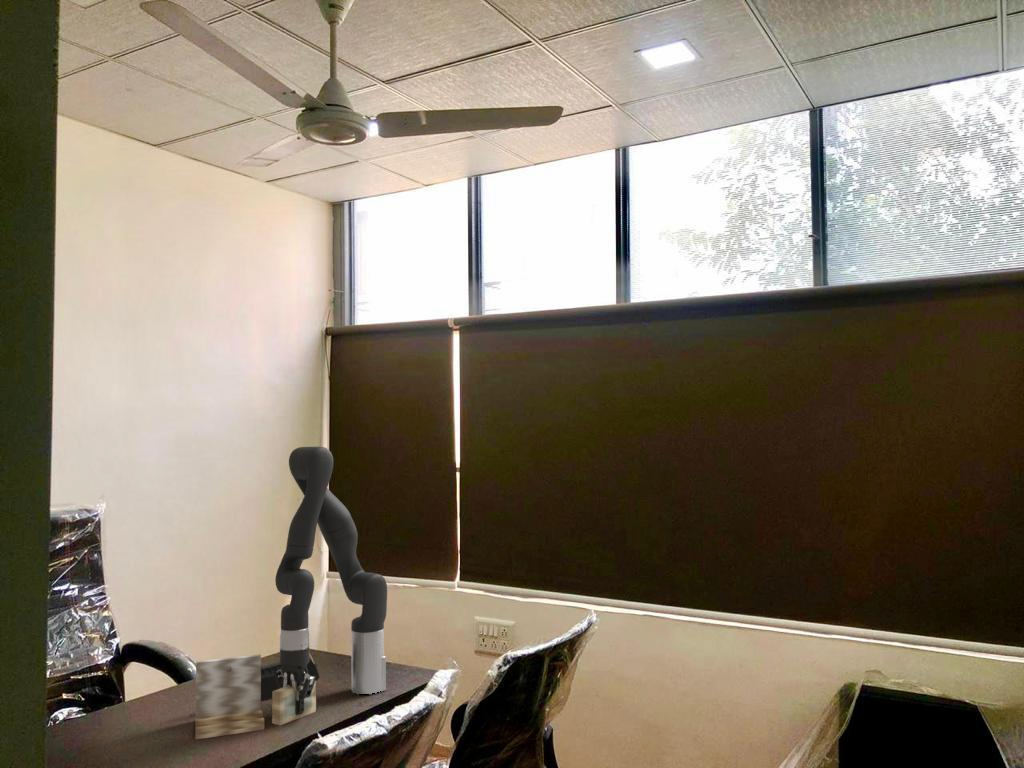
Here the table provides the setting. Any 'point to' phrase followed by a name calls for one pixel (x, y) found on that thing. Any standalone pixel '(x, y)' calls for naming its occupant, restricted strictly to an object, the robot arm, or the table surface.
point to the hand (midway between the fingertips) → (294, 712)
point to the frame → (290, 705)
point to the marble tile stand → (228, 696)
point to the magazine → (270, 682)
